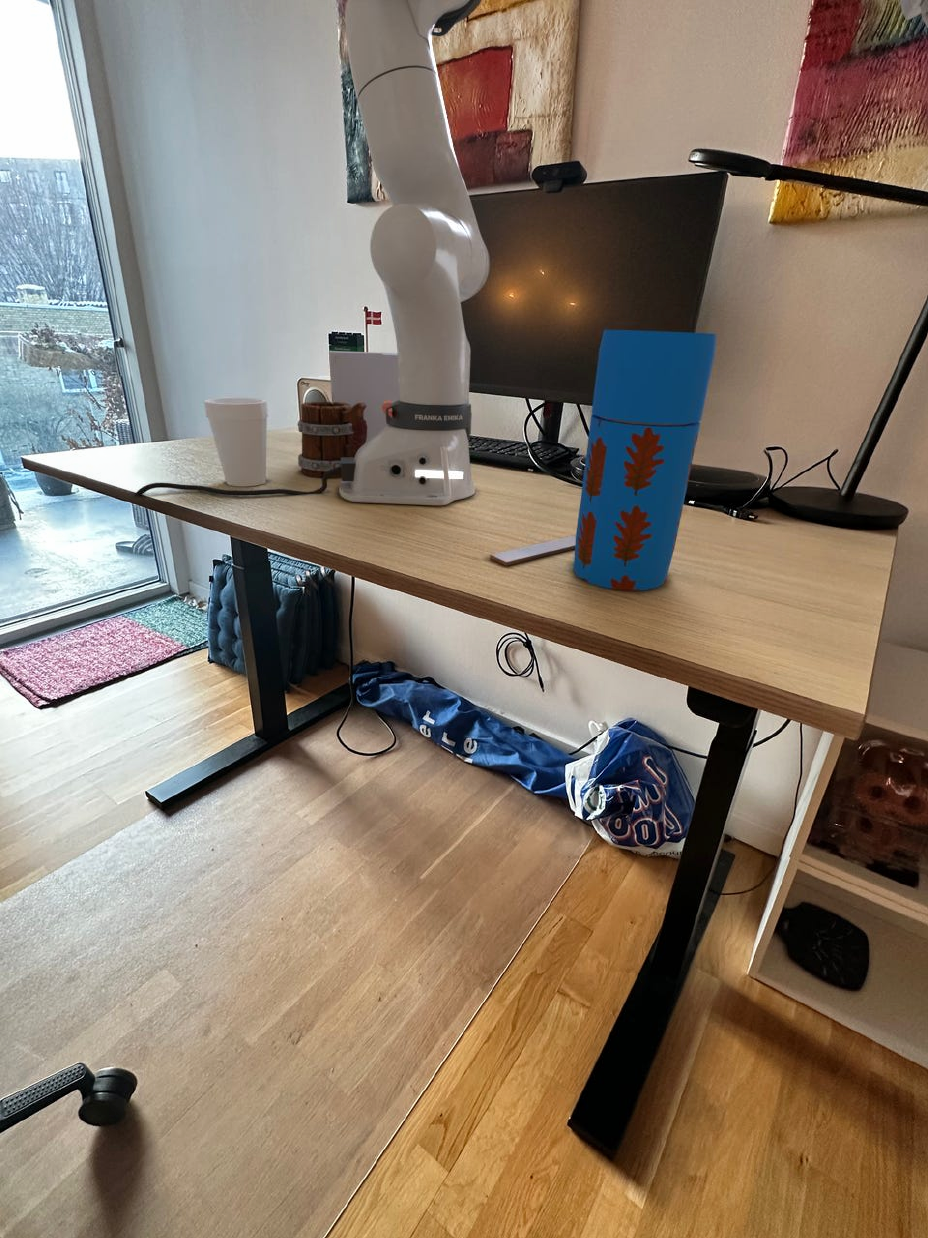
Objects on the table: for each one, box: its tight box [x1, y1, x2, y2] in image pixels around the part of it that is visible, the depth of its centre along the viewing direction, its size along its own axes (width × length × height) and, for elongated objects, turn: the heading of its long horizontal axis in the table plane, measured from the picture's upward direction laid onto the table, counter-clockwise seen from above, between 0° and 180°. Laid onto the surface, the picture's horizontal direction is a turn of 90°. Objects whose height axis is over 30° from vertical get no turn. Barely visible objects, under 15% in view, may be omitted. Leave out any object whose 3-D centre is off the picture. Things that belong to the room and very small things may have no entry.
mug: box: [297, 401, 368, 479], centre depth 104 cm, size 12×14×15 cm
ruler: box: [489, 534, 576, 567], centre depth 77 cm, size 30×3×1 cm, turn 127°
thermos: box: [573, 329, 717, 592], centre depth 62 cm, size 11×11×25 cm
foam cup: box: [203, 397, 269, 487], centre depth 96 cm, size 10×9×13 cm
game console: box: [328, 350, 399, 442], centre depth 118 cm, size 6×27×20 cm, turn 106°
